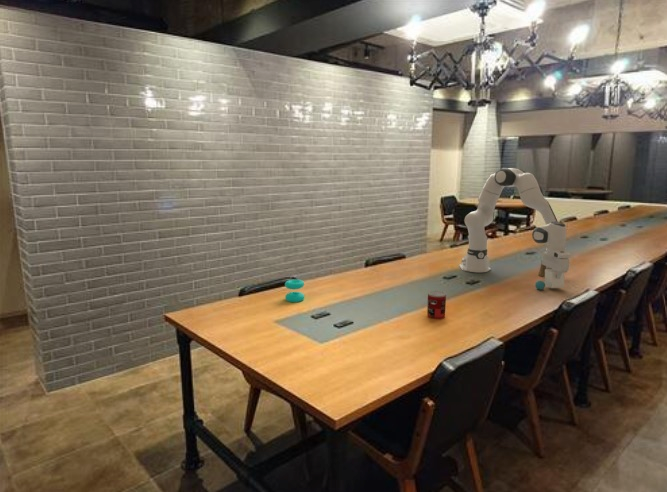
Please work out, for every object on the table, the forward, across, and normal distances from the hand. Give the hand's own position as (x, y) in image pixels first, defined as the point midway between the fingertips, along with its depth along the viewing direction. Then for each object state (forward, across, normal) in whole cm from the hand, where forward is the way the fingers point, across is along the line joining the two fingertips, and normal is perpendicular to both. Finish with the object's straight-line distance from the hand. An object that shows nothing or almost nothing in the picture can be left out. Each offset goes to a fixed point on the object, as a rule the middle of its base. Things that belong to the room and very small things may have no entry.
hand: (553, 276), depth 241 cm
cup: (+5, 0, +1) cm, 5 cm away
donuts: (+8, +4, -142) cm, 142 cm away
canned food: (+7, +36, -76) cm, 85 cm away
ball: (+5, 0, -7) cm, 9 cm away
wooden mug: (+7, -26, +14) cm, 30 cm away
